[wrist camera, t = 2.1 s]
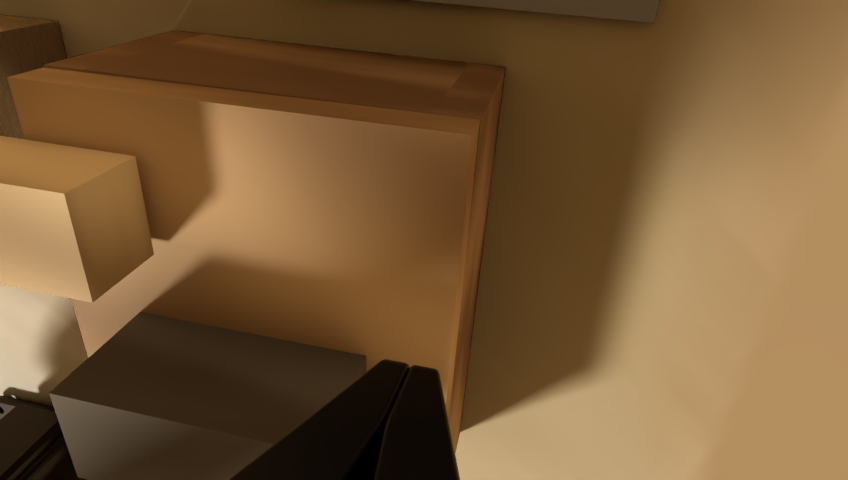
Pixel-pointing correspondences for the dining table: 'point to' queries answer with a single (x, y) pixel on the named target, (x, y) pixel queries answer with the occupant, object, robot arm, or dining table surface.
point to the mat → (574, 7)
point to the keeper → (24, 60)
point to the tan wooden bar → (69, 219)
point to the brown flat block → (343, 83)
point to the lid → (254, 264)
